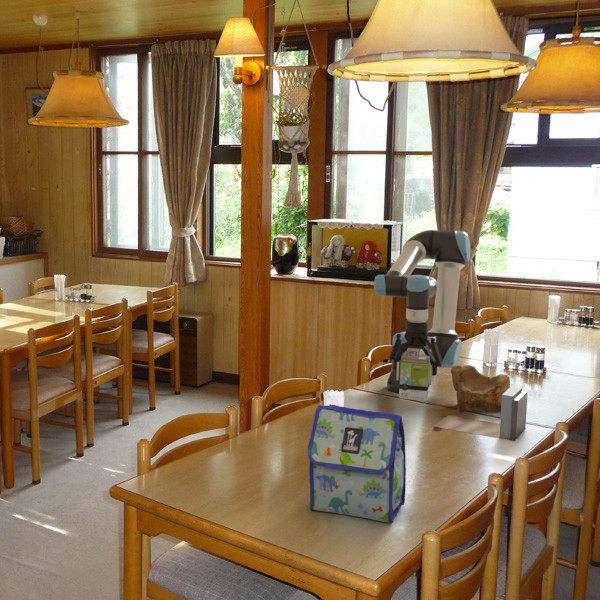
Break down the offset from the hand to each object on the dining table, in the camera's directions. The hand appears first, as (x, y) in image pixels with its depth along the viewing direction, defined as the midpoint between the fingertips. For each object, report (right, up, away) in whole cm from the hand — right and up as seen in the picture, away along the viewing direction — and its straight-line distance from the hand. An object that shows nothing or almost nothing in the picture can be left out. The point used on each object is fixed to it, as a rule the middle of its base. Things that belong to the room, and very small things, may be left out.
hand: (415, 381), depth 256 cm
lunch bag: (-26, -24, -72) cm, 80 cm away
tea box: (0, -4, +1) cm, 5 cm away
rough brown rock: (+24, -12, +13) cm, 29 cm away
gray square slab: (+31, -15, -16) cm, 38 cm away
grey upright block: (+29, -15, -15) cm, 36 cm away
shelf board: (+20, -15, -10) cm, 27 cm away
